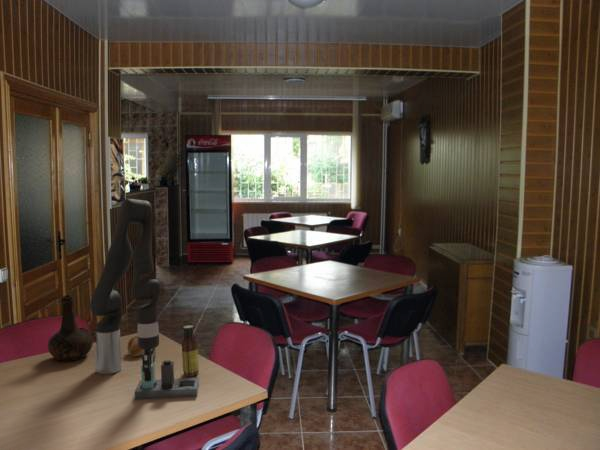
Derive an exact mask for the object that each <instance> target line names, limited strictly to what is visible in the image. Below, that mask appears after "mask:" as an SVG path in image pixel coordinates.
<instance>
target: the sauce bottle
mask: <svg viewBox="0 0 600 450" xmlns="http://www.w3.org/2000/svg"><path fill="white" fill-rule="evenodd" d="M182 329H183V340H182V342H181V356H182V357H181V358H182V372H183V375H184V376H185V377H195V376H197V375H198V374H199V369H200V366H199V350H198V343H197V341H196V339H195V335H194V325H192V324H191V325H190V324H189V325H184V326H183V328H182Z"/></svg>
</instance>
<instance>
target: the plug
mask: <svg viewBox="0 0 600 450" xmlns="http://www.w3.org/2000/svg"><path fill="white" fill-rule="evenodd" d="M154 363H155V362H153V365H151V381H145V376H144V372H143V371H142V369H143V365H142V364H141V380H142V389H146V388H155V380H156V378H155V377H156V376H155V375H156V374H155V373H156V369H155V368H156V367H155V366H154ZM146 368H148V365H146Z"/></svg>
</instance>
